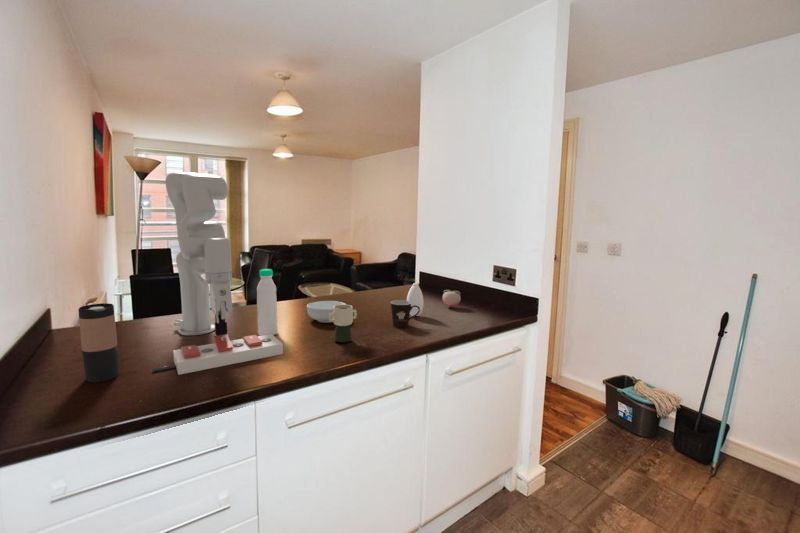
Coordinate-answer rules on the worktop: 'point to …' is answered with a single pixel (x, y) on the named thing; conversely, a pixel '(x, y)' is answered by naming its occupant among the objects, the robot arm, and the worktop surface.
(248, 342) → the rocker right
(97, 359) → the travel mug
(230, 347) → the rocker middle
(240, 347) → the power strip
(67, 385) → the worktop surface
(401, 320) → the coffee mug
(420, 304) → the sauce bottle
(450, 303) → the pale pink rounded piece
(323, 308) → the cereal bowl
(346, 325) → the character mug
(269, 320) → the water bottle
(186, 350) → the rocker left
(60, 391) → the worktop surface
